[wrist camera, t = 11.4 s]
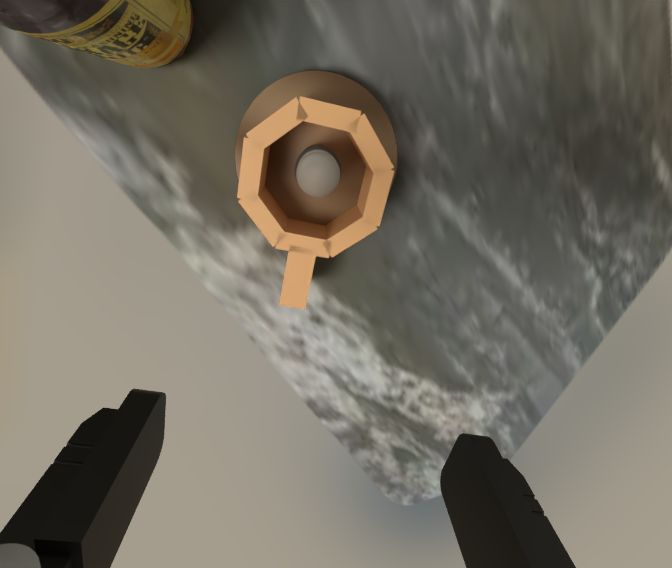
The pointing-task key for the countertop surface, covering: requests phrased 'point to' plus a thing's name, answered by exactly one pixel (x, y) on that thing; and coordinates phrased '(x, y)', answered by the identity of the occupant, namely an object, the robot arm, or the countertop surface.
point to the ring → (302, 235)
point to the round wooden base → (316, 147)
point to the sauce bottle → (107, 27)
